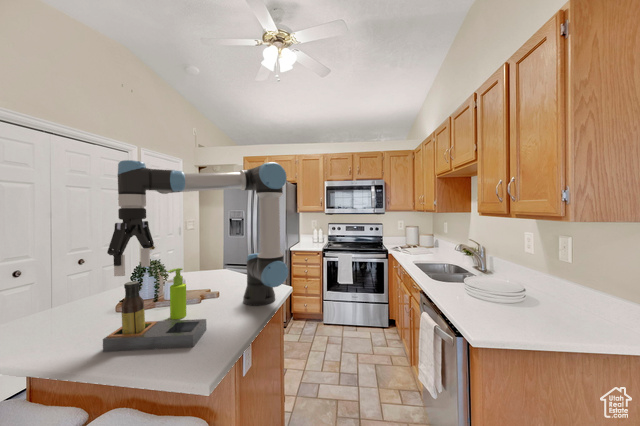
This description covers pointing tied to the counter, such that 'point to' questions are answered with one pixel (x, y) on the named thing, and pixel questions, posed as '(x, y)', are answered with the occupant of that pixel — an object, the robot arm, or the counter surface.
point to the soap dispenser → (177, 296)
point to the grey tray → (157, 336)
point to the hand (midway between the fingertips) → (133, 270)
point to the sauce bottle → (132, 310)
